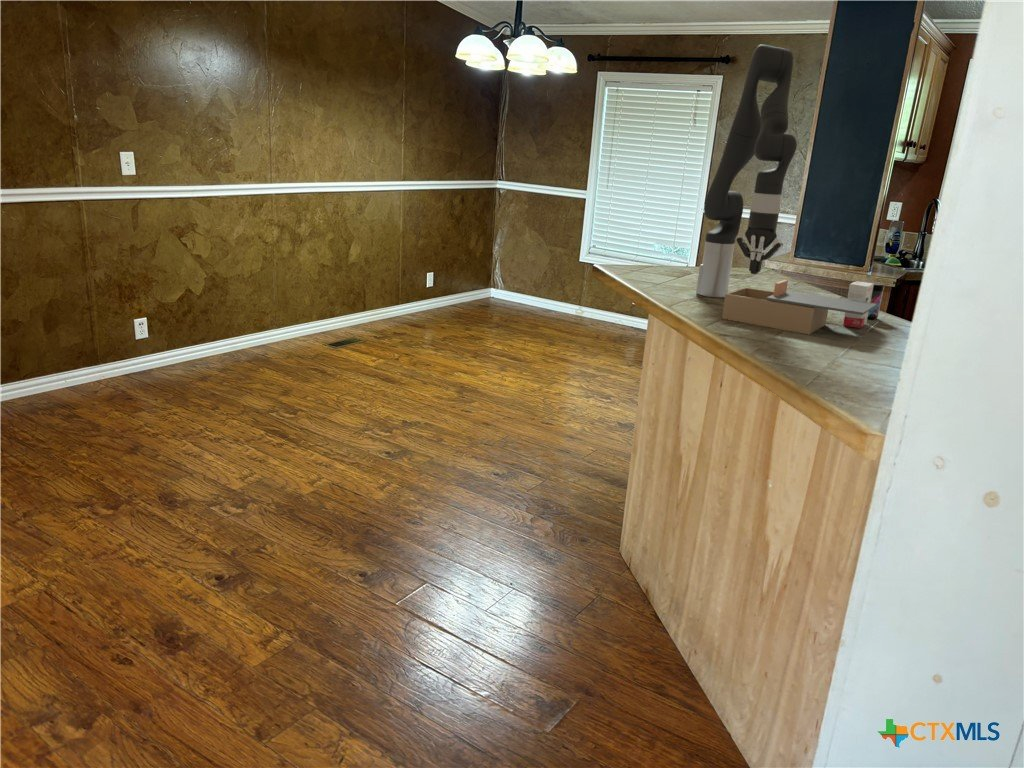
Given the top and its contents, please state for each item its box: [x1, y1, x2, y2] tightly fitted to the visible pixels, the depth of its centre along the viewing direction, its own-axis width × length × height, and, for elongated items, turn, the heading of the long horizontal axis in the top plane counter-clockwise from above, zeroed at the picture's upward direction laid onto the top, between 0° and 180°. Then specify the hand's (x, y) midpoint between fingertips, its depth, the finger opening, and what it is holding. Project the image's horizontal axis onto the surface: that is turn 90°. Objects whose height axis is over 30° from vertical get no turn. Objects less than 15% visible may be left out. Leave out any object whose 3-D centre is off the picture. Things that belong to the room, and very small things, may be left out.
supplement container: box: [859, 280, 885, 321], centre depth 216 cm, size 7×7×10 cm
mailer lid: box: [766, 279, 877, 315], centre depth 196 cm, size 24×16×4 cm
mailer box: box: [721, 286, 829, 335], centre depth 205 cm, size 24×16×7 cm, turn 54°
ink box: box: [842, 281, 874, 329], centre depth 205 cm, size 9×5×12 cm, turn 144°
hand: (754, 273), depth 206 cm, fingers closed
